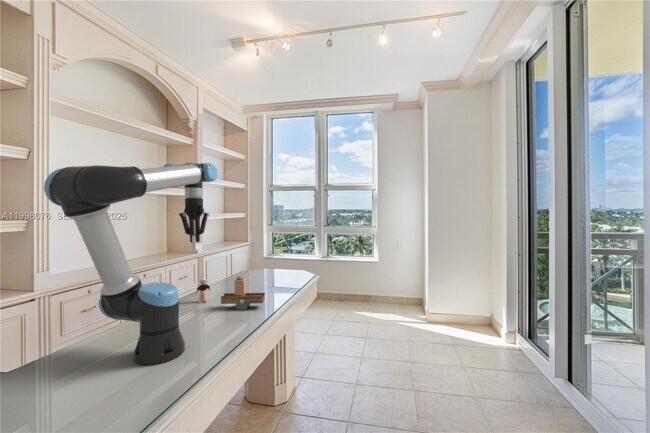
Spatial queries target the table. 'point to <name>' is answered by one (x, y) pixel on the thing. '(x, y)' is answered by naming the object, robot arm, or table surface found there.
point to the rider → (240, 286)
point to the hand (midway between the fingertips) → (195, 249)
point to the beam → (242, 299)
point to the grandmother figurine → (203, 290)
